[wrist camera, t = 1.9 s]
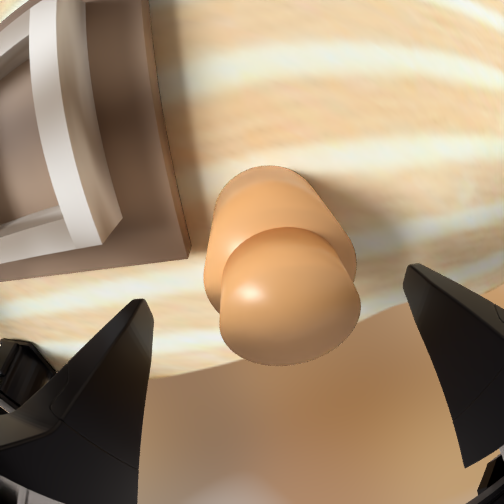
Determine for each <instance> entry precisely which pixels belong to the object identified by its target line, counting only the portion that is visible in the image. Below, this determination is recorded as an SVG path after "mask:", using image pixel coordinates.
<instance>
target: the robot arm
mask: <svg viewBox="0 0 504 504" xmlns="http://www.w3.org/2000/svg"><path fill="white" fill-rule="evenodd" d="M403 289H404V292H405V295H406V298H407V300H408V303H409V306H410V309H411V311H412V314H413V317H414V320H415V323H416V325H417V327H418V330H419V332H420V334H421V337H422V339H423V341H424V343H425V346H426V348H427V350H428V353H429V355H430V358H431V360H432V363H433V365H434V368H435V370H436V373H437V376H438V378H439V381H440V384H441V387H442V389H443V392H444V395H445V398H446V401H447V404H448V407H449V410H450V413H451V417H452V420H453V424H454V427H455V431H456V435H457V439H458V442H459V446H460V450H461V455H462V459H463V464H464V467H465V468H467V467H469V466H471V465H472V464H474V463H476V462H478V461H480V460H481V459H483V458H484V457H486V456H488V455H489V454H491V453H493V452H494V451H495V450H497V449H500V452H501V454H500V455H498V456H497V457H496V458H494V459H493V460H492V461H490V462H489V463H488V464H487V467H486V470H485V472H484V475H483V478H482V480H481V482H480V485H479V487H478V490H477V492H478V496H477V497H475V498H474V499H472V500H471V501H469V502H468V503H466V504H504V309H503V308H501V307H499V306H498V305H496V304H493V303H492V302H490V301H489V300H487V299H485V298H483V297H482V296H480V295H478V294H476V293H475V292H473V291H471V290H469V289H467V288H466V287H464V286H462V285H460V284H458V283H456V282H454V281H452V280H451V279H449V278H447V277H445V276H443V275H441V274H439V273H437V272H435V271H433V270H431V269H429V268H427V267H425V266H423V265H421V264H419V263H415V264H410V265H408V267H407V270H406V274H405V278H404V282H403ZM153 327H154V319H153V315H152V313H151V311H150V309H149V307H148V304H147V302H146V301H145V300H144V299H134V300H132V301H131V302H130V303H129V304H127V305H126V306H125V307H124V308H123V309H122V310H121V311H120V312H119V313H118V314H117V315H116V316H115V317H114V318H113V319H111V320H110V321H109V322H108V323H107V324H106V325H105V326H104V327H103V328H102V329H101V330H100V331H99V332H98V333H97V334H96V335H95V336H94V337H93V338H92V339H91V340H90V341H89V342H88V343H87V344H86V345H85V346H84V347H82V348H81V349H80V350H79V351H78V352H77V353H76V354H75V355H74V356H73V357H72V358H71V359H70V360H69V361H68V364H65V365H64V367H63V368H62V369H61V370H60V371H59V372H58V373H56V372H55V371H54V370H53V369H52V367H51V366H50V365H49V364H48V363H47V362H46V361H45V359H44V358H43V357H42V356H41V355H40V353H39V352H38V351H37V350H36V348H35V347H34V346H33V345H32V344H31V343H28V342H20V341H13V340H6V339H1V340H0V344H1V346H0V406H1V407H3V408H4V409H5V410H6V411H8V412H9V413H8V412H6V411H5V410H4V409H2V408H1V407H0V504H137V495H138V473H139V470H138V469H139V456H140V444H141V433H142V424H143V415H144V407H145V400H146V392H147V386H148V379H149V373H150V366H151V357H152V341H153Z"/></svg>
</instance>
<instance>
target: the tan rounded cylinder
mask: <svg viewBox="0 0 504 504" xmlns="http://www.w3.org/2000/svg"><path fill="white" fill-rule="evenodd" d="M356 265H357V262H356V254H355V250H354V247H353V245H352V242H351V240H350V239H349V237H348V236H347V234H346V233H345V231H344V230H343V228H342V227H341V226H340V224H339V223H338V221H337V220H336V219H335V217H334V216H333V215H332V213H331V212H330V210H329V209H328V208H327V206H326V205H325V204H324V202H323V201H322V200H321V198H320V197H319V196H318V194H317V193H316V192H315V191H314V189H313V188H312V187H311V185H310V184H309V183H308V182H307V181H306V180H305V179H304V178H303V177H302V176H300V175H299V174H297V173H296V172H294V171H292V170H289V169H287V168H283V167H279V166H259V167H254V168H251V169H248V170H246V171H244V172H241V173H240V174H238V175H237V176H235V177H234V178H233V179H231V180H230V181H229V182H228V183H227V184H226V185H225V187H224V188H223V189H222V191H221V192H220V194H219V196H218V198H217V201H216V204H215V209H214V215H213V220H212V226H211V231H210V237H209V243H208V249H207V255H206V261H205V268H204V286H205V291H206V294H207V296H208V299H209V300H210V302H211V304H212V305H213V307H214V308H215V309H216V311H217V312H218V313H219V314H220V332H221V336H222V338H223V340H224V342H225V343H226V345H227V346H228V347H229V348H230V349H231V350H232V351H233V352H234V353H235V354H237V355H239V356H240V357H242V358H244V359H246V360H249V361H251V362H254V363H258V364H262V365H270V366H287V365H295V364H301V363H304V362H308V361H311V360H314V359H316V358H319V357H321V356H323V355H325V354H327V353H329V352H330V351H332V350H333V349H335V348H336V347H337V346H339V345H340V344H341V343H342V342H343V341H344V340H345V339H346V338H347V337H348V336H349V335H350V333H351V332H352V331H353V329H354V328H355V326H356V324H357V322H358V319H359V316H360V310H361V302H360V297H359V294H358V292H357V290H356V288H355V286H354V284H353V282H354V279H355V274H356Z"/></svg>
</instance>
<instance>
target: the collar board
mask: <svg viewBox="0 0 504 504" xmlns="http://www.w3.org/2000/svg"><path fill="white" fill-rule="evenodd" d="M190 249H191V242H190V238H189V234H188V230H187V226H186V222H185V218H184V214H183V209H182V205H181V201H180V196H179V192H178V187H177V183H176V178H175V174H174V169H173V164H172V159H171V154H170V149H169V144H168V139H167V133H166V128H165V122H164V116H163V111H162V105H161V98H160V92H159V86H158V79H157V72H156V64H155V57H154V49H153V40H152V31H151V21H150V10H149V0H29V1H28V2H26V3H25V4H23V5H22V6H21V7H20V8H18V9H17V10H16V11H14V12H13V13H12V14H11V15H9V16H8V17H7V18H6V19H5V20H3V21H2V22H1V23H0V282H3V281H11V280H19V279H27V278H35V277H43V276H51V275H59V274H68V273H76V272H84V271H92V270H100V269H108V268H116V267H124V266H132V265H140V264H148V263H157V262H165V261H173V260H181V259H188V257H189V253H190Z"/></svg>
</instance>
